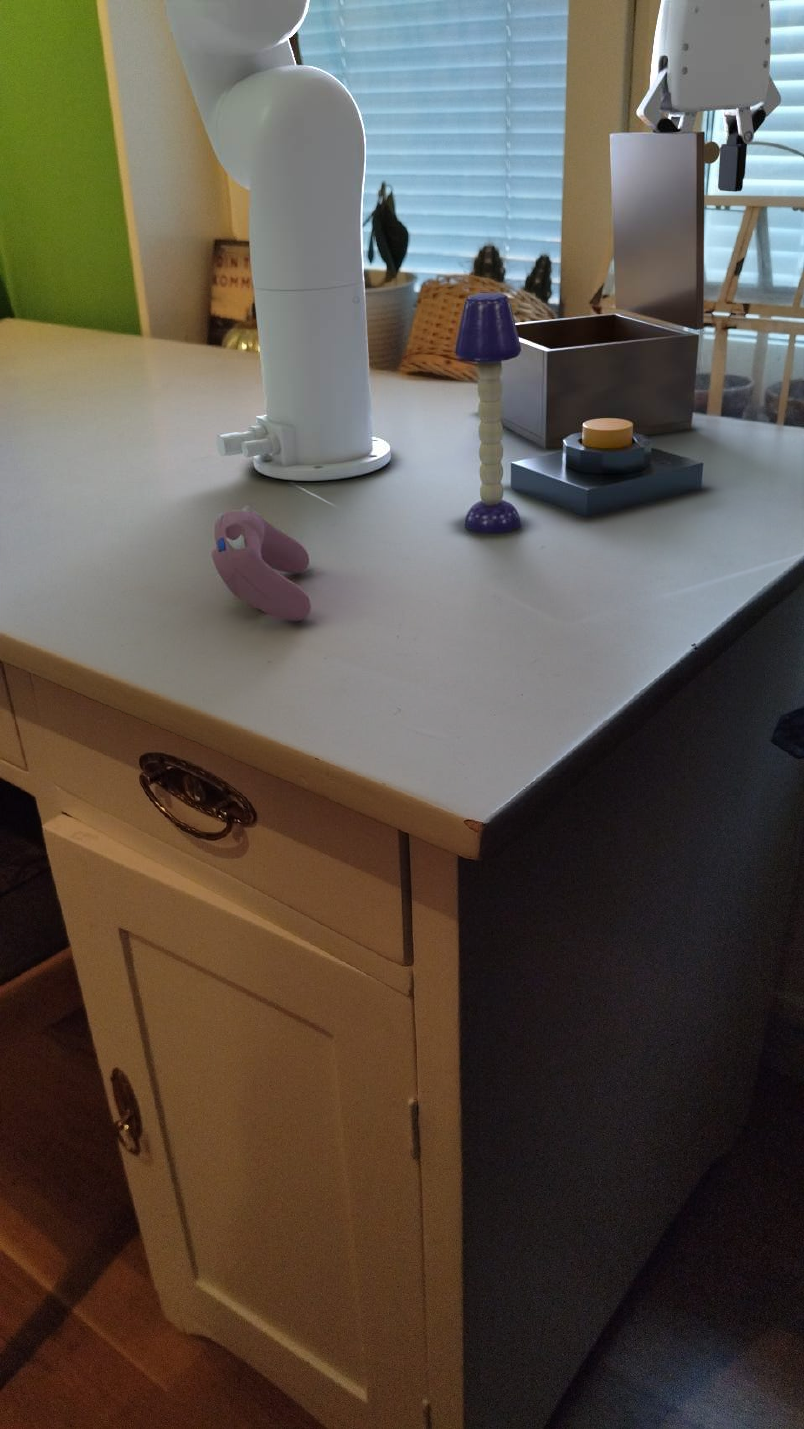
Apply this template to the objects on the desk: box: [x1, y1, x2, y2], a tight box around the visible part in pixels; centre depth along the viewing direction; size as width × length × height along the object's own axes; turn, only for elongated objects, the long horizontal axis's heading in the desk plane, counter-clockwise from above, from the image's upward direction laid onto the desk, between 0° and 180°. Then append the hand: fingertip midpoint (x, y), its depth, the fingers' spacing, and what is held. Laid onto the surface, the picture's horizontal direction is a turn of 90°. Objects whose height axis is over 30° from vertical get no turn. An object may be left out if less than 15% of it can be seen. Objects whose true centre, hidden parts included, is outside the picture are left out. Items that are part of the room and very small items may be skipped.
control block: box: [510, 432, 705, 518], centre depth 90 cm, size 12×10×4 cm
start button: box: [582, 418, 633, 448], centre depth 89 cm, size 4×4×2 cm
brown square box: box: [499, 312, 700, 449], centre depth 109 cm, size 16×16×9 cm
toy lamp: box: [454, 292, 521, 535], centre depth 80 cm, size 5×5×17 cm
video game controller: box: [211, 505, 312, 622], centre depth 72 cm, size 10×5×7 cm, turn 5°
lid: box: [609, 131, 720, 331], centre depth 105 cm, size 16×16×5 cm
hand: (705, 191), depth 105 cm, fingers open, 4 cm apart
